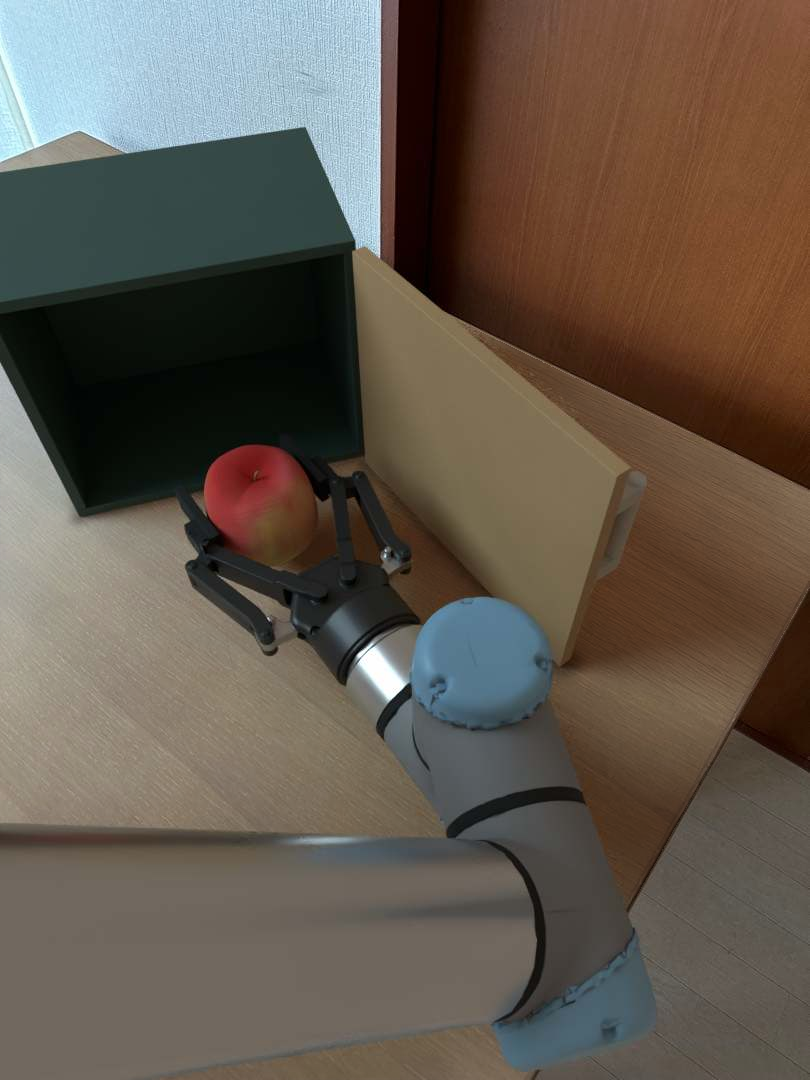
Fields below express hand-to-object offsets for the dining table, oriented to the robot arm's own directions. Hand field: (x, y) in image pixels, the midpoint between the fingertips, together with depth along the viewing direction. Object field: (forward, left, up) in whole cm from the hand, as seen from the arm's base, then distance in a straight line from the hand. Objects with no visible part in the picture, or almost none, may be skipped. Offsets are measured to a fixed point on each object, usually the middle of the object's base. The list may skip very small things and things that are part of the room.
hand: (234, 469), depth 71 cm
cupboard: (-1, +14, -7) cm, 16 cm away
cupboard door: (+21, -8, -7) cm, 23 cm away
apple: (+2, -4, -6) cm, 8 cm away
